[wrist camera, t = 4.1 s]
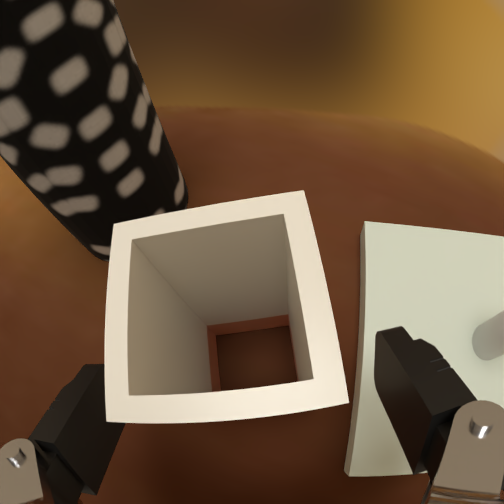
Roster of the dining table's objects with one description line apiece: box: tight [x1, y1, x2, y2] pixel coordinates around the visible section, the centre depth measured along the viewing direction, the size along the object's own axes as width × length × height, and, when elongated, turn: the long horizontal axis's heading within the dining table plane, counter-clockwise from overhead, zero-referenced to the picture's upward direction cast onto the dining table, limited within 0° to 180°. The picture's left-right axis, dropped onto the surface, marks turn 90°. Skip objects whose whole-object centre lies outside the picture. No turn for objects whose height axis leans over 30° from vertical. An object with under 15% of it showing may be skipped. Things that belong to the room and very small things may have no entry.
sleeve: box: [105, 190, 349, 423], centre depth 11 cm, size 5×5×10 cm
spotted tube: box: [0, 0, 188, 261], centre depth 13 cm, size 8×8×20 cm
